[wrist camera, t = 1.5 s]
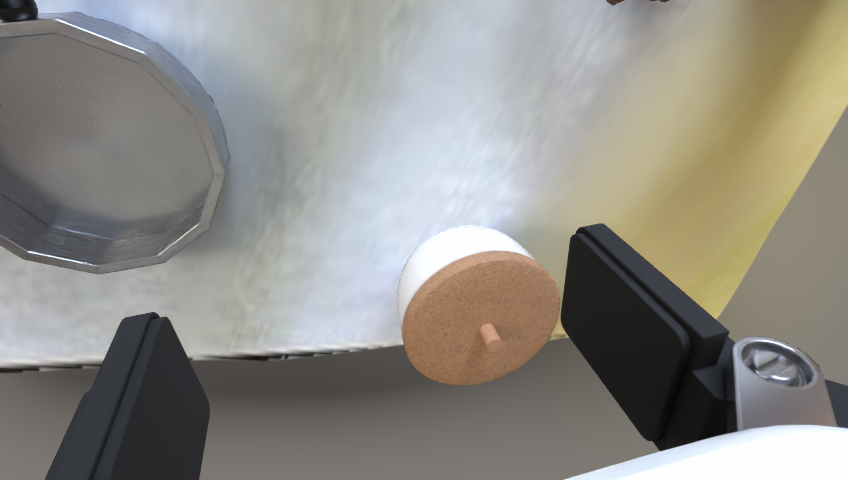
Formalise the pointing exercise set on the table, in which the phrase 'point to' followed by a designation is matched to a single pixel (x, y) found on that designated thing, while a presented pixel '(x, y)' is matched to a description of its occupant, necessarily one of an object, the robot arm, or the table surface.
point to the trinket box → (474, 305)
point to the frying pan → (101, 144)
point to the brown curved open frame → (615, 0)
